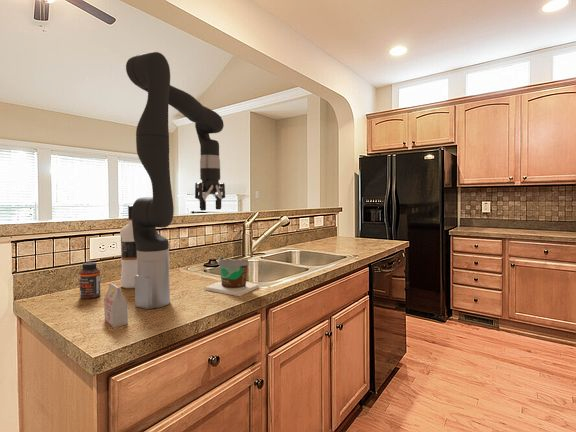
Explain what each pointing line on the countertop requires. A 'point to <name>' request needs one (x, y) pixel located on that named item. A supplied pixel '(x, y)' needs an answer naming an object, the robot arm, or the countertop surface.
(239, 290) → the cutting board
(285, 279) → the countertop surface
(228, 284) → the food container
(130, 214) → the vodka
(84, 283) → the supplement bottle
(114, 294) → the white milk carton
